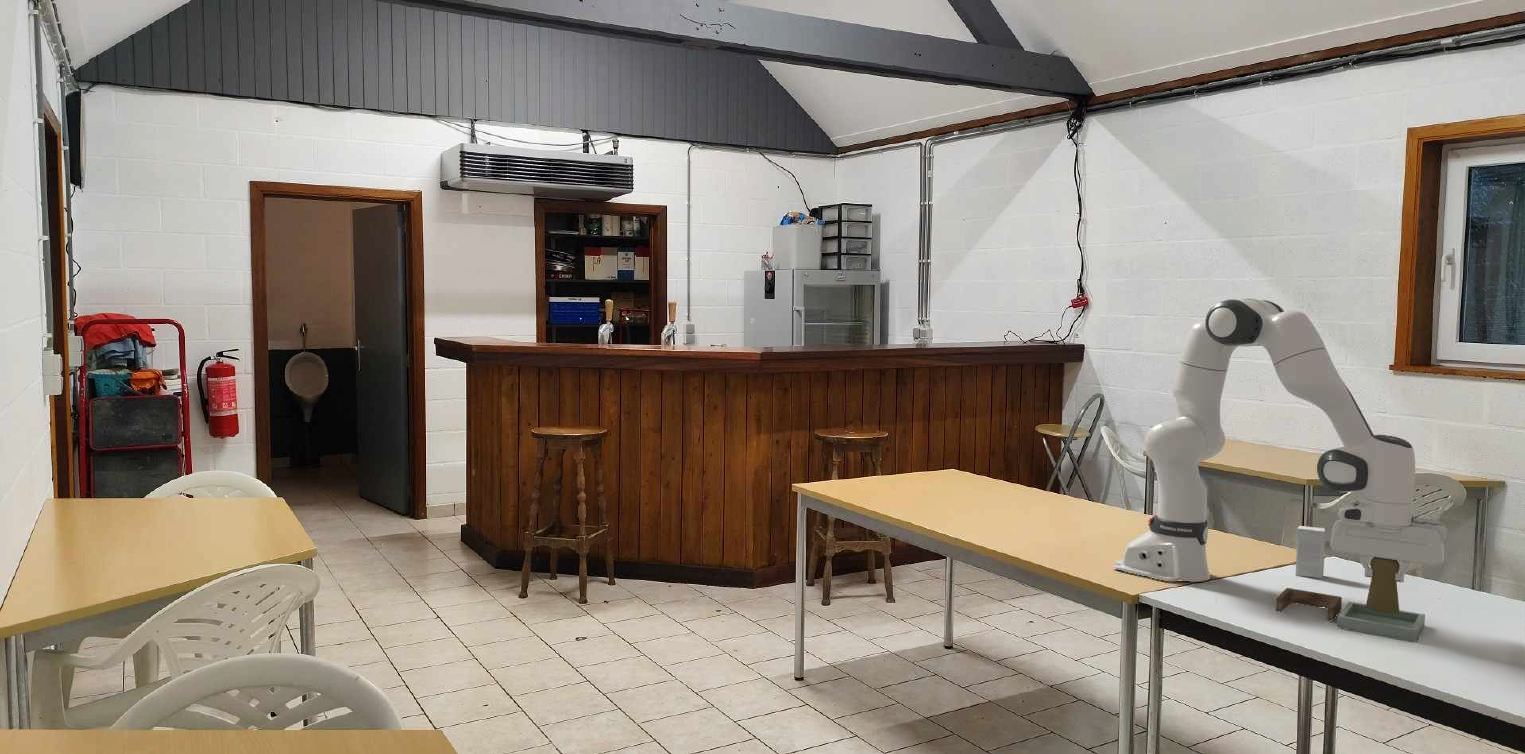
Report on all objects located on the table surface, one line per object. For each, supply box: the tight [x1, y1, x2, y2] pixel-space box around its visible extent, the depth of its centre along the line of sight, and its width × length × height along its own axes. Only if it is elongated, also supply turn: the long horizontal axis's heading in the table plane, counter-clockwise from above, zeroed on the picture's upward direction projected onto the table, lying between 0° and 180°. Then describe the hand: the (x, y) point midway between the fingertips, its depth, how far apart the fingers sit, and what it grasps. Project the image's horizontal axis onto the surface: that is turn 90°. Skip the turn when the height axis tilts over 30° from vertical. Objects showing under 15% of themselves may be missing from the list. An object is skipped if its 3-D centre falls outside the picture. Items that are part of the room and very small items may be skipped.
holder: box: [1275, 587, 1343, 622], centre depth 222 cm, size 11×10×3 cm
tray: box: [1336, 601, 1426, 643], centre depth 211 cm, size 14×14×2 cm
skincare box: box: [1295, 525, 1326, 579], centre depth 252 cm, size 6×4×12 cm
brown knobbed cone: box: [1365, 557, 1400, 613], centre depth 211 cm, size 6×6×11 cm
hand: (1384, 579), depth 211 cm, fingers closed on brown knobbed cone, 4 cm apart
